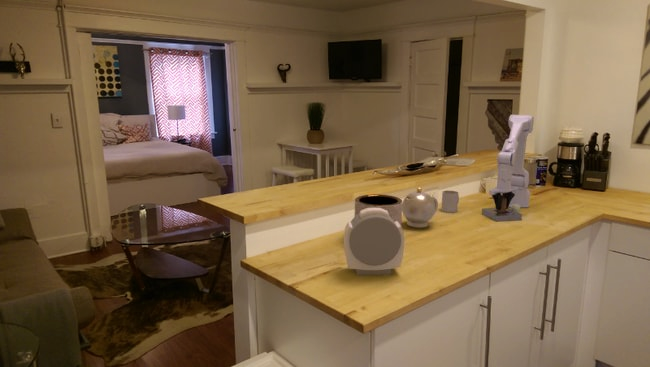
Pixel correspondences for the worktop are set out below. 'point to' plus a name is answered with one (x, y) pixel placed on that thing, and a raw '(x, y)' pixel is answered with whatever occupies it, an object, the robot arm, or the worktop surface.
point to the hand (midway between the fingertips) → (501, 209)
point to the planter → (381, 205)
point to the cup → (450, 201)
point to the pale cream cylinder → (515, 208)
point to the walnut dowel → (503, 206)
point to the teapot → (419, 208)
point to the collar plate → (501, 214)
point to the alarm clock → (373, 242)
